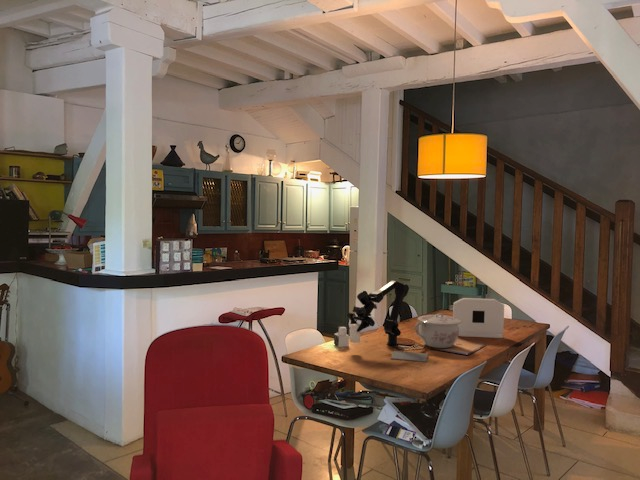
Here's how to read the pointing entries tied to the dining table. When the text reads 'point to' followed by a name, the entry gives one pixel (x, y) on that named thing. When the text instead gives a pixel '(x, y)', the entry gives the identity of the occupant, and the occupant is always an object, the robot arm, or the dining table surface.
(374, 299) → the robot arm
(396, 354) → the mat
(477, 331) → the grey boxy block
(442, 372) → the dining table surface
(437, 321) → the chamber pot
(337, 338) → the grey bottle
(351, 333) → the canister
